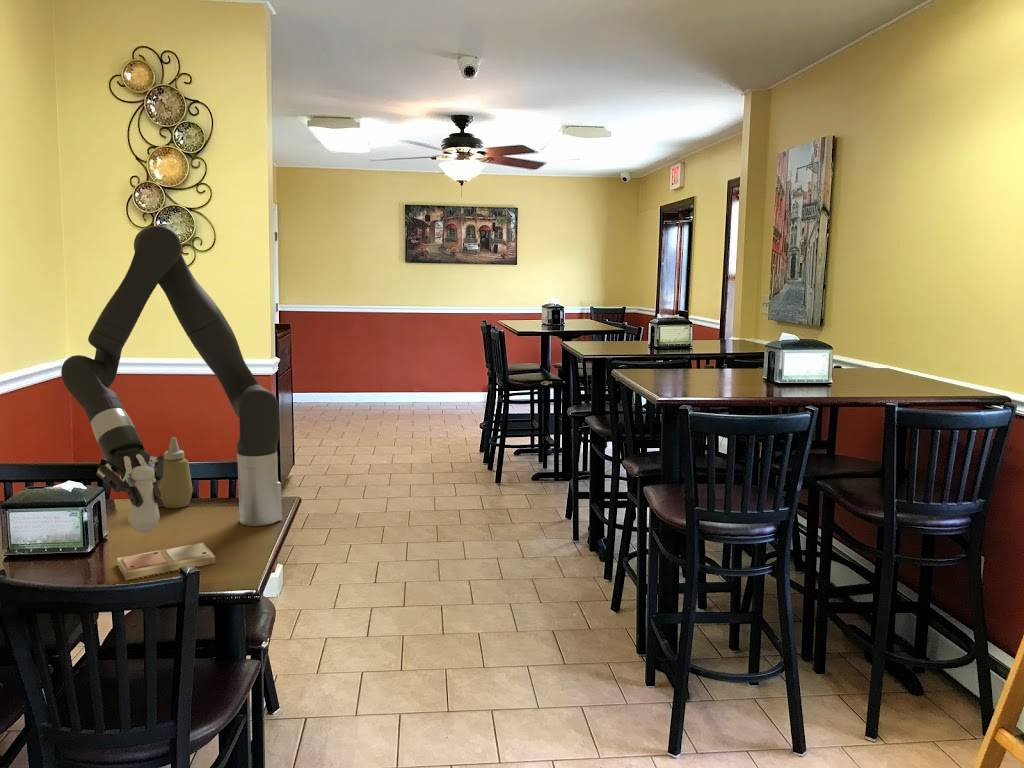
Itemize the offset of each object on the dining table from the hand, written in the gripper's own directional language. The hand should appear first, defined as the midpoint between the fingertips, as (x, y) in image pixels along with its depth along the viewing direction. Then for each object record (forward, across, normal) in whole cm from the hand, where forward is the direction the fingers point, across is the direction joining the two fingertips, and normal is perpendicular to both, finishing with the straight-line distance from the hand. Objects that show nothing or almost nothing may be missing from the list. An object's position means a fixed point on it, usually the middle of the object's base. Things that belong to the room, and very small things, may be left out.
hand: (148, 502), depth 157 cm
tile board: (+10, +4, +10) cm, 15 cm away
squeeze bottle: (-16, +27, +36) cm, 48 cm away
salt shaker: (+3, 0, +6) cm, 6 cm away
